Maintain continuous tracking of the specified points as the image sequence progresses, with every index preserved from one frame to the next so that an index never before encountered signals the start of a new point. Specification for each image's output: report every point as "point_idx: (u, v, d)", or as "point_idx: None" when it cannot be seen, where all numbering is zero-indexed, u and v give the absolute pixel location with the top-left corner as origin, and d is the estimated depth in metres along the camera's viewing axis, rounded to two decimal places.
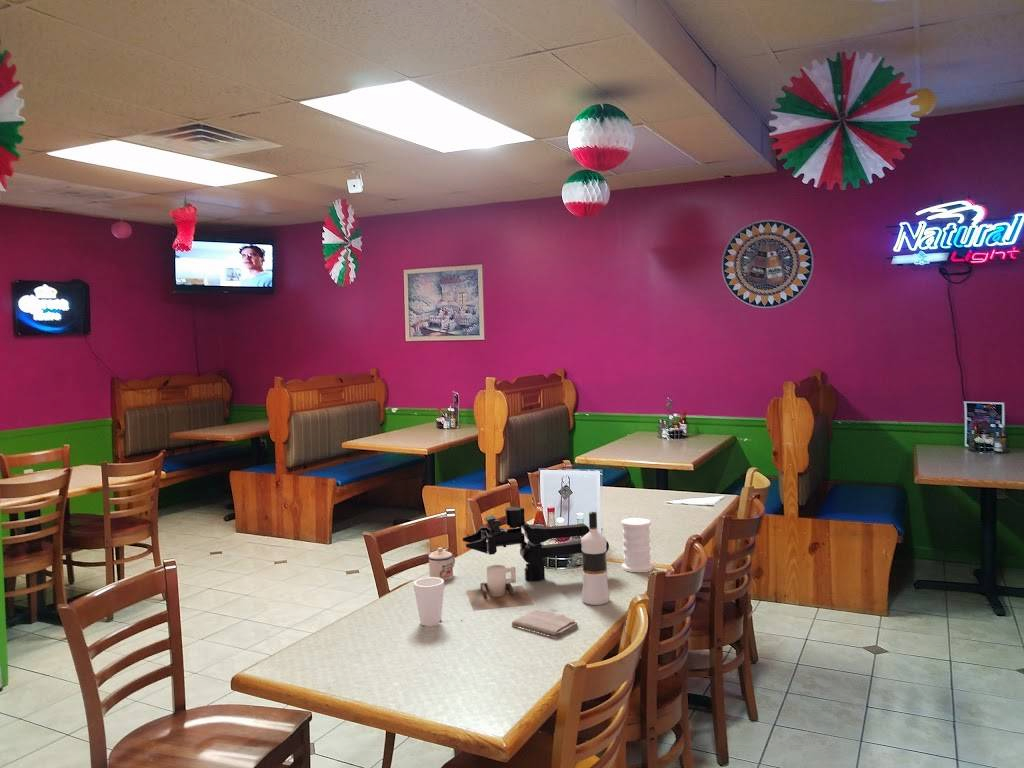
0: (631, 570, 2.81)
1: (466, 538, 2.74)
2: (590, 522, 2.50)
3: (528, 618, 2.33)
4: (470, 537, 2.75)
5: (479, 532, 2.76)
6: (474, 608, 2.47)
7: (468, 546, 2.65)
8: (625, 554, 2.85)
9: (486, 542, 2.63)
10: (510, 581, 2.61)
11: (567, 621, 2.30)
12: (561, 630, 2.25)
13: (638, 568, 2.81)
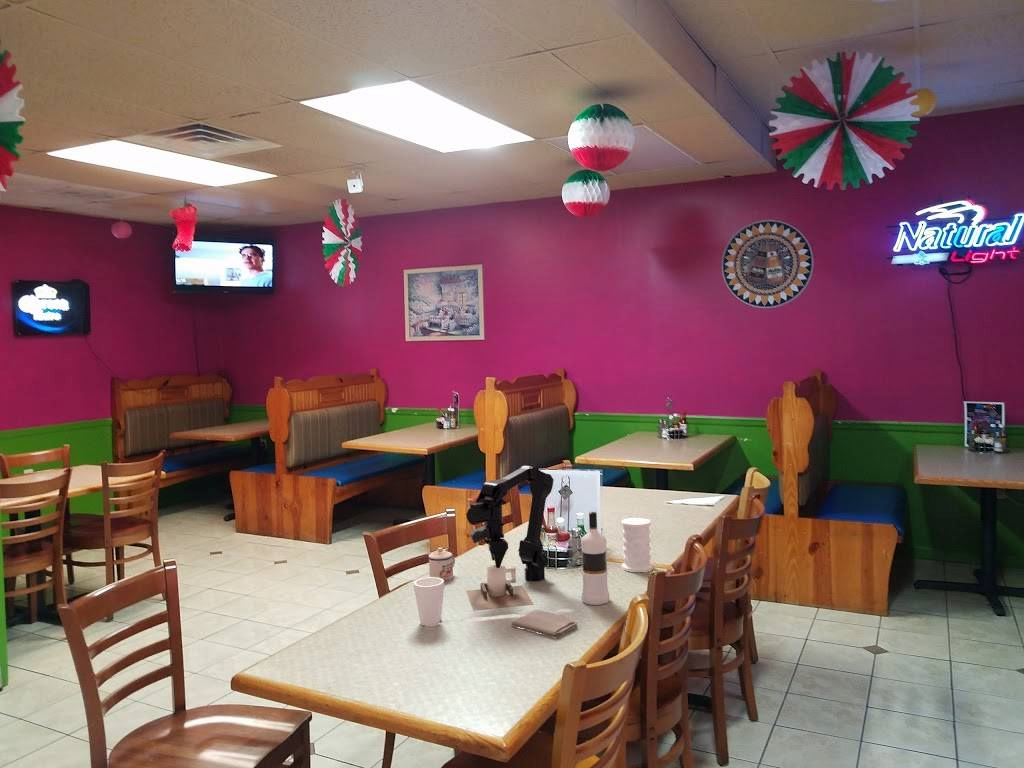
0: (631, 570, 2.81)
1: (493, 556, 2.65)
2: (590, 522, 2.50)
3: (528, 618, 2.33)
4: (492, 552, 2.65)
5: (488, 542, 2.65)
6: (474, 608, 2.47)
7: (498, 565, 2.55)
8: (625, 554, 2.85)
9: None
10: (510, 581, 2.61)
11: (567, 621, 2.30)
12: (561, 630, 2.25)
13: (638, 568, 2.81)
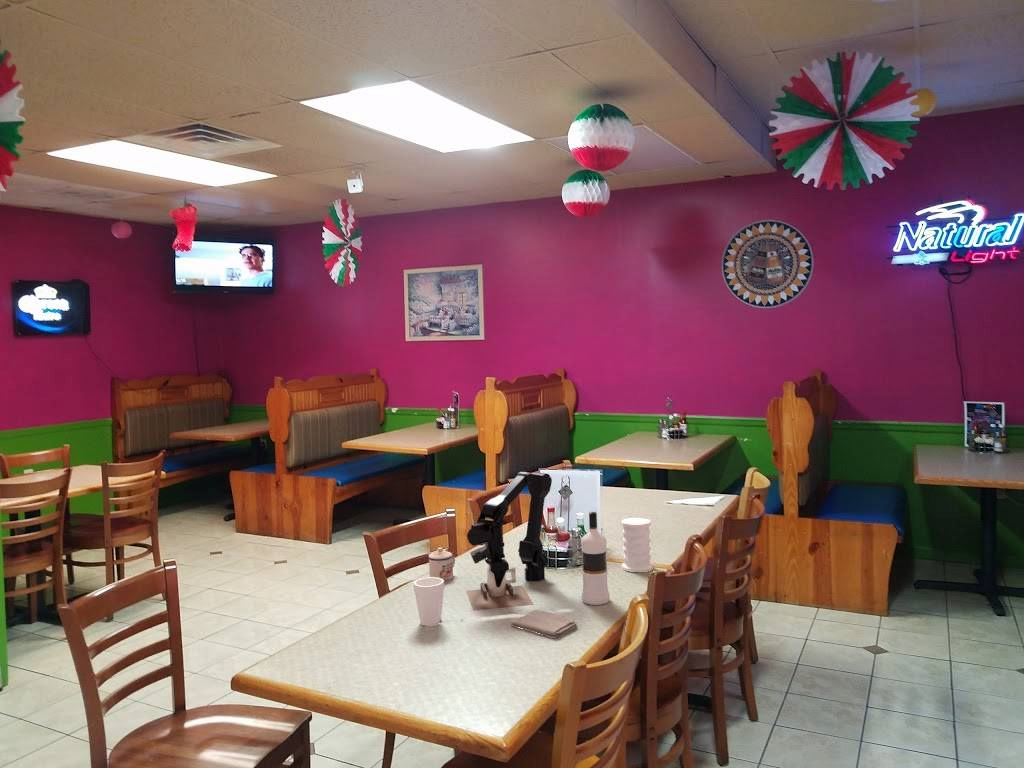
0: (631, 570, 2.81)
1: None
2: (590, 522, 2.50)
3: (527, 618, 2.33)
4: None
5: (489, 563, 2.64)
6: (474, 608, 2.47)
7: (499, 585, 2.57)
8: (625, 554, 2.85)
9: (495, 570, 2.53)
10: (510, 581, 2.61)
11: (566, 621, 2.30)
12: (560, 630, 2.25)
13: (638, 568, 2.81)
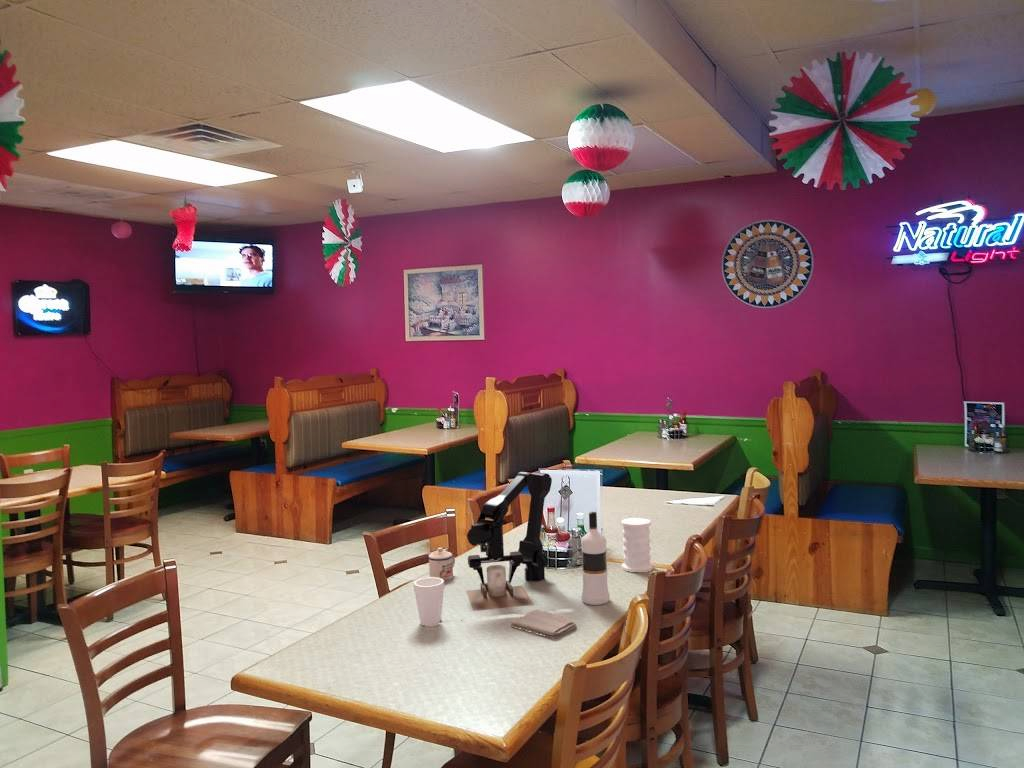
0: (631, 570, 2.81)
1: (509, 578, 2.62)
2: (590, 522, 2.50)
3: (527, 618, 2.33)
4: (509, 574, 2.62)
5: (509, 563, 2.63)
6: (474, 608, 2.47)
7: (482, 583, 2.60)
8: (625, 554, 2.85)
9: None
10: (496, 586, 2.56)
11: (566, 622, 2.30)
12: (559, 631, 2.24)
13: (638, 568, 2.81)
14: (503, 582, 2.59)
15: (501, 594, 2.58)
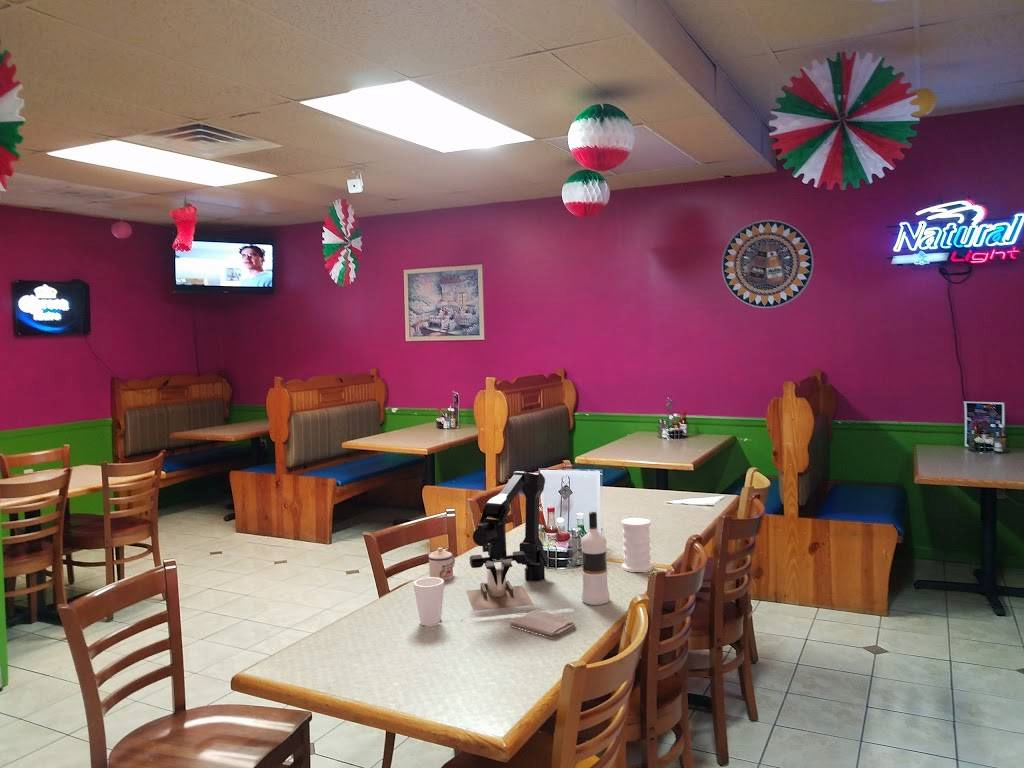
0: (631, 570, 2.81)
1: None
2: (590, 522, 2.50)
3: (526, 619, 2.33)
4: (501, 575, 2.55)
5: (501, 564, 2.56)
6: (474, 608, 2.47)
7: (495, 582, 2.54)
8: (625, 554, 2.85)
9: (485, 564, 2.55)
10: (496, 586, 2.56)
11: (565, 622, 2.29)
12: (559, 631, 2.24)
13: (638, 568, 2.81)
14: (503, 582, 2.59)
15: (501, 594, 2.58)
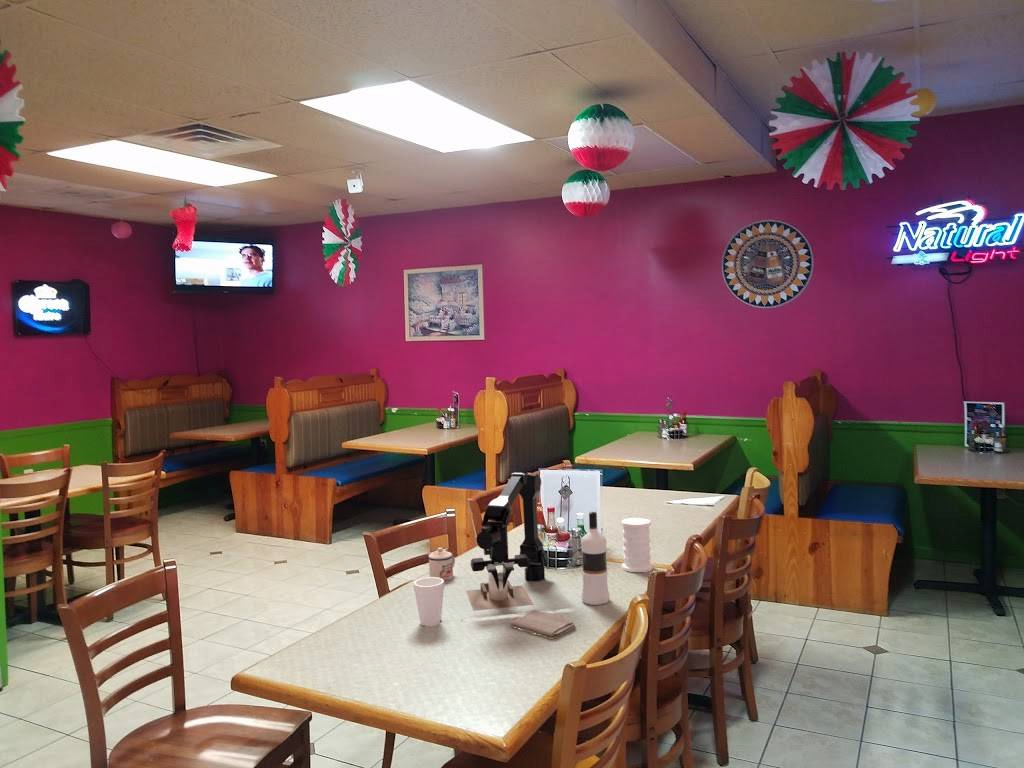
0: (631, 570, 2.81)
1: None
2: (590, 522, 2.50)
3: (526, 619, 2.33)
4: None
5: (503, 567, 2.52)
6: (474, 608, 2.47)
7: None
8: (625, 554, 2.85)
9: (486, 568, 2.51)
10: (498, 590, 2.52)
11: (565, 622, 2.29)
12: (558, 631, 2.24)
13: (638, 568, 2.81)
14: (505, 586, 2.55)
15: (502, 598, 2.54)
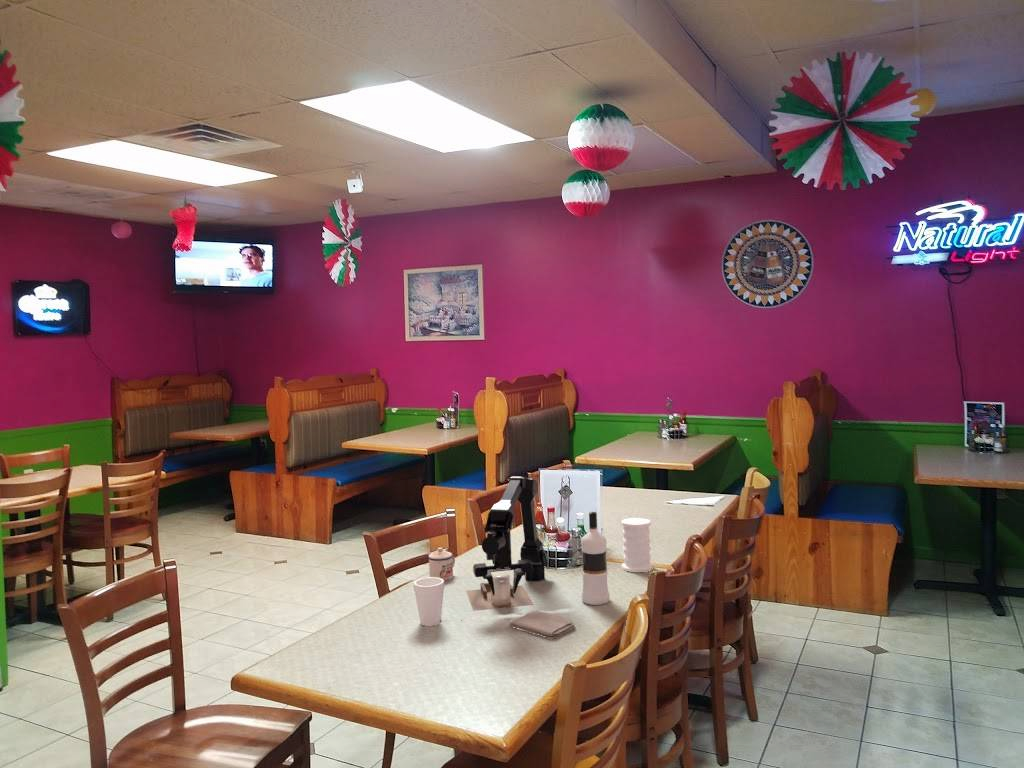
0: (631, 570, 2.81)
1: (513, 588, 2.46)
2: (590, 522, 2.50)
3: (526, 619, 2.33)
4: (513, 584, 2.46)
5: (514, 572, 2.47)
6: (474, 608, 2.47)
7: None
8: (625, 554, 2.85)
9: None
10: (500, 595, 2.47)
11: (564, 622, 2.29)
12: (558, 631, 2.24)
13: (638, 568, 2.81)
14: (507, 590, 2.50)
15: (505, 603, 2.49)
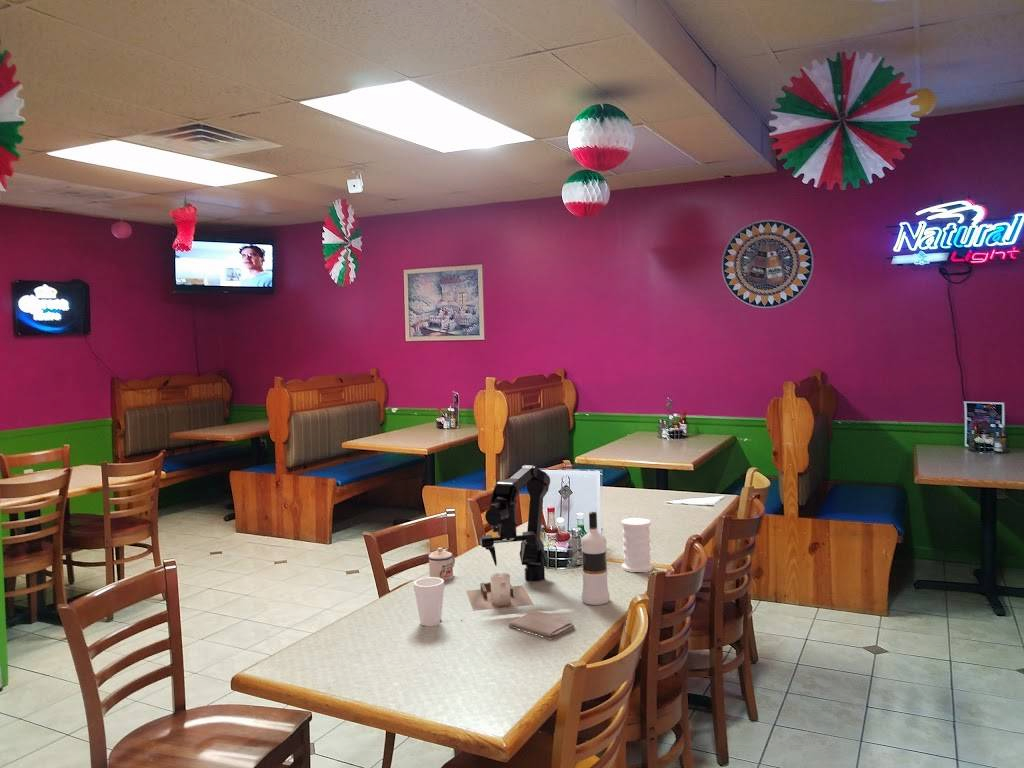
0: (631, 570, 2.81)
1: (521, 558, 2.58)
2: (590, 522, 2.50)
3: (525, 619, 2.33)
4: (521, 554, 2.58)
5: (522, 543, 2.59)
6: (474, 608, 2.47)
7: (494, 563, 2.56)
8: (625, 554, 2.85)
9: None
10: (500, 595, 2.47)
11: (564, 623, 2.29)
12: (557, 632, 2.24)
13: (638, 568, 2.81)
14: (507, 590, 2.50)
15: (505, 603, 2.49)
